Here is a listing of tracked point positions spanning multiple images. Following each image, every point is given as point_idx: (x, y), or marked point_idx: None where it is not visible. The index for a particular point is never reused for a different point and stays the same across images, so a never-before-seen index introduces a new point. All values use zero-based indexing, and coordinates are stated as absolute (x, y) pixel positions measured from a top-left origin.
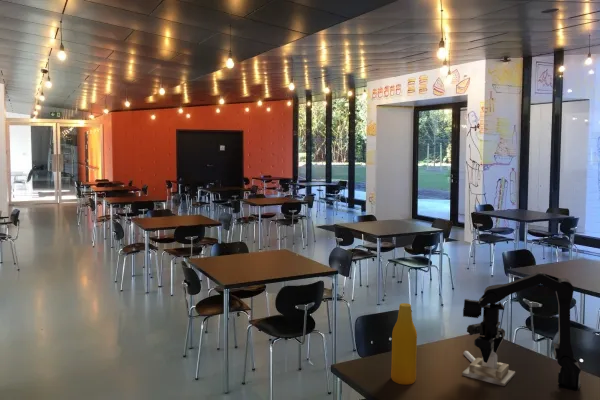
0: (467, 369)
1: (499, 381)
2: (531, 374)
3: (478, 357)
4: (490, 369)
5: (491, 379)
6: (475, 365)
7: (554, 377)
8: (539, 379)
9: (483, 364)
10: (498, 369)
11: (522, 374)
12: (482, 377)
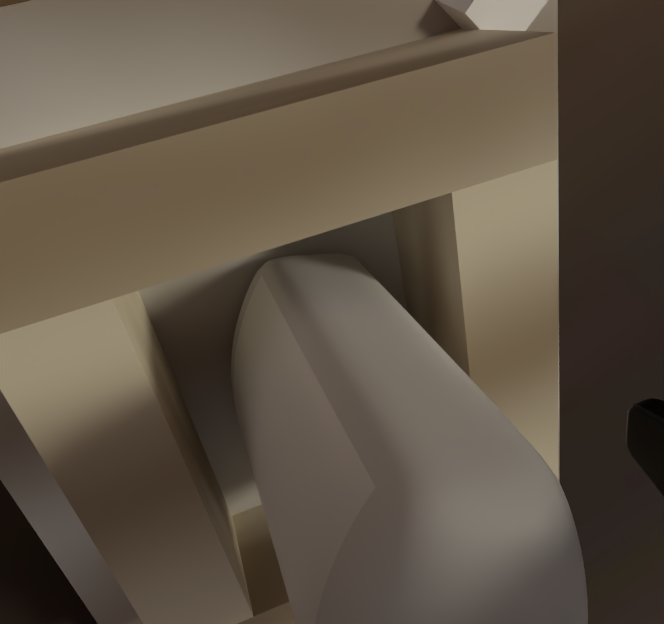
0: (44, 38)
1: (126, 613)
2: (623, 523)
3: (555, 51)
4: (144, 586)
5: (79, 542)
6: (22, 334)
7: (660, 614)
8: None
9: (268, 366)
10: (266, 622)
11: (576, 495)
12: (5, 445)
